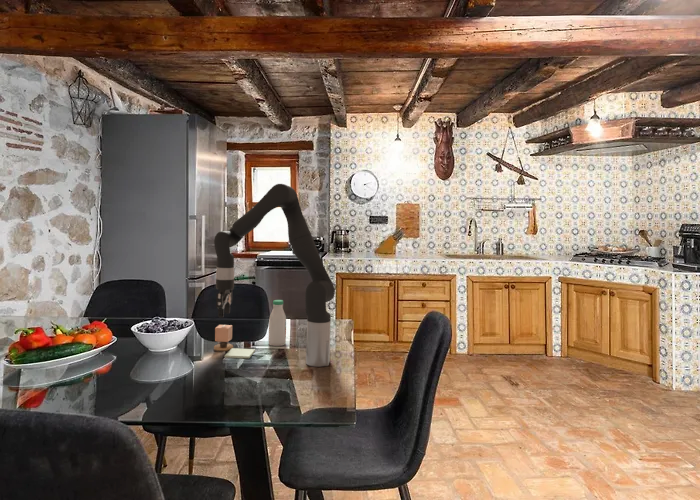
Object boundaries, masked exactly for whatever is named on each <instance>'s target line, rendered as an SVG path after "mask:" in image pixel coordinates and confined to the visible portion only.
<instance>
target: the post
mask: <svg viewBox="0 0 700 500" xmlns="http://www.w3.org/2000/svg"><path fill="white" fill-rule="evenodd" d="M232 348H234V344H232V343H230V342H219V341H216V344H215V345H214V346H213V351H215V352H218V353H222V352H223V353H225V352H229V351H230V350H231V349H232Z"/></svg>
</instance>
